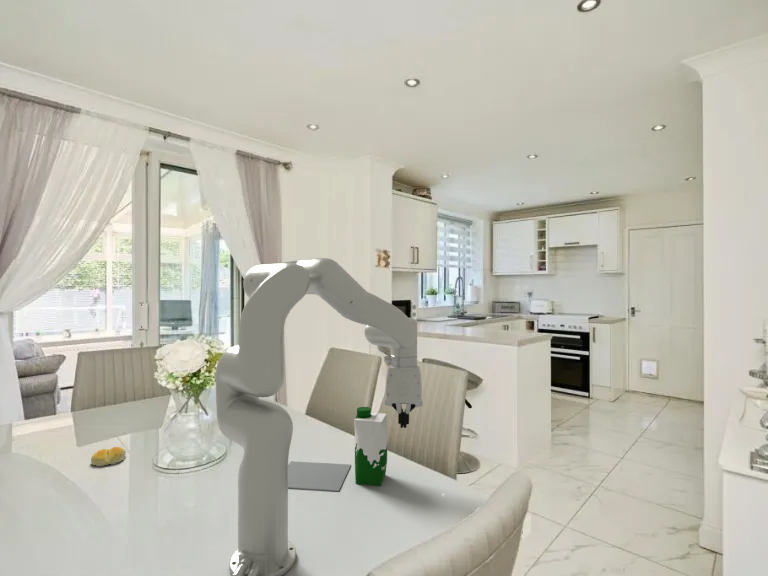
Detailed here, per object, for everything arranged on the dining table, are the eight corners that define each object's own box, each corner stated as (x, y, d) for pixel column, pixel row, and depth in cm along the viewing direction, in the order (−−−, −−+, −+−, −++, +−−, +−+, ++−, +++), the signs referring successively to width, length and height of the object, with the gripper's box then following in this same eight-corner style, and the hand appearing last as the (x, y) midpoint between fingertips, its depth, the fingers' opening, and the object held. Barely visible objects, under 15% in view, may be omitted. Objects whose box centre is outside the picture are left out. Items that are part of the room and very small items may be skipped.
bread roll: (94, 459, 129) (94, 446, 129) (127, 454, 133) (127, 442, 133) (87, 469, 121) (87, 456, 121) (122, 464, 125) (122, 451, 125)
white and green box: (359, 471, 120) (359, 404, 120) (389, 473, 119) (389, 405, 119) (351, 485, 112) (351, 412, 112) (383, 488, 110) (383, 415, 110)
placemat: (338, 491, 108) (338, 490, 108) (270, 487, 110) (270, 486, 110) (350, 465, 124) (350, 464, 124) (291, 462, 126) (291, 461, 126)
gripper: (375, 363, 111) (375, 429, 111) (430, 364, 109) (430, 432, 109) (379, 358, 119) (379, 421, 119) (430, 359, 117) (430, 423, 117)
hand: (403, 426), depth 114 cm, fingers closed
